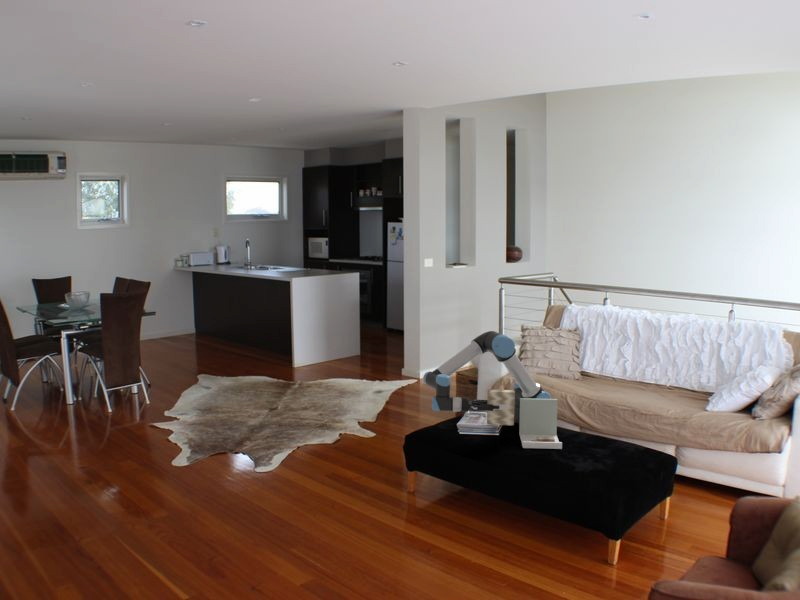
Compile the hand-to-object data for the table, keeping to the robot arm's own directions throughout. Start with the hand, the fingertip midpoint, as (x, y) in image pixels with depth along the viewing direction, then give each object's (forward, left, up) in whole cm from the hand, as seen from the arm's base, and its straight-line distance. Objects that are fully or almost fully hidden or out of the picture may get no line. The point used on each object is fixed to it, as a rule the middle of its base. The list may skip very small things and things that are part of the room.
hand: (505, 405), depth 378 cm
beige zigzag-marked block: (+2, -1, -10) cm, 10 cm away
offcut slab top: (-15, +16, -18) cm, 28 cm away
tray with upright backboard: (-17, +9, -21) cm, 28 cm away
